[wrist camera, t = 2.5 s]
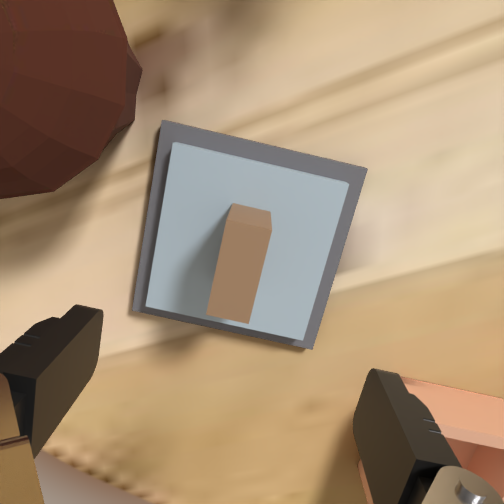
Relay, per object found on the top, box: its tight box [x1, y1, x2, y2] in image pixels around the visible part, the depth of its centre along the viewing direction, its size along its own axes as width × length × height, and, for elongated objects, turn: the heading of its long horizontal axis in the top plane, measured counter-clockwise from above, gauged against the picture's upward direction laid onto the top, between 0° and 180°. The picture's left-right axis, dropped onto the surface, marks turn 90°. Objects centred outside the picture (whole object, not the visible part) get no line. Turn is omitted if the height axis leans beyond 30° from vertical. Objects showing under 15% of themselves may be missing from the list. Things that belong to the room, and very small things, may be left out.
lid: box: [146, 142, 349, 341], centre depth 23 cm, size 10×10×5 cm
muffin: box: [0, 0, 142, 199], centre depth 19 cm, size 12×11×10 cm
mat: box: [132, 120, 368, 349], centre depth 26 cm, size 12×12×1 cm
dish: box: [358, 377, 504, 504], centre depth 28 cm, size 8×8×4 cm
